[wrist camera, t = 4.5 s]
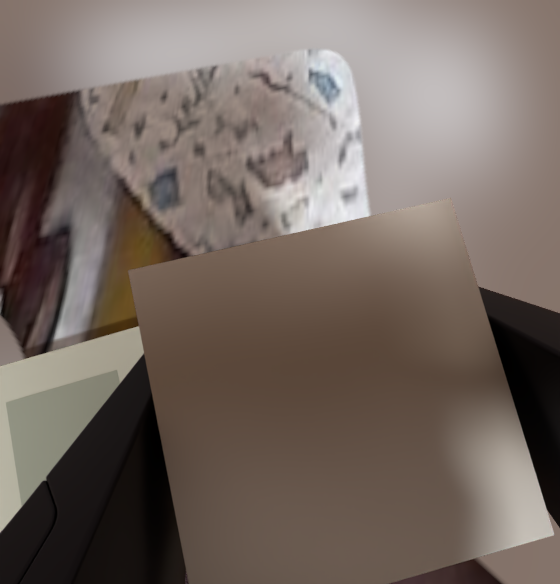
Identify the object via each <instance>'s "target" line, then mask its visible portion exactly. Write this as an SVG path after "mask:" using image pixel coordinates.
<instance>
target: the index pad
mask: <svg viewBox="0 0 560 584" xmlns="http://www.w3.org/2000/svg"><path fill="white" fill-rule="evenodd" d="M143 354H144V350H143V345H142V340H141V334H140V329H139V326H138V327H134V328H131V329H127V330H124V331H120V332H117V333H113V334H110V335H107V336H103V337H100V338H96V339H93V340H89V341H86V342H82V343H79V344H75V345H72V346H68V347H65V348H61V349H58V350H54V351H51V352H48V353H44V354H41V355H37V356H34V357H30V358H27V359H23V360H20V361H16V362H13V363H9V364H6V365H3V366H0V532H1V531H2V530H3V529H4V528H5V526H6V525H7V524H8V523H9V521H10V520H11V519H12V518H13V517H14V515H15V514H16V513H17V512H18V511H19V509H20V508H21V507H22V506H23V504H24V503H25V502H26V501H27V500H28V498H29V497H30V496H31V495H32V493H33V492H34V491H35V489H36V488H37V487H38V486H39V484H40V483H41V482H42V481H44V480H46V476H47V475H48V473H49V472H50V471H51V470H52V468H53V467H54V466H55V465H56V463H57V462H58V461H59V459H60V458H61V457H62V456H63V454H64V453H65V452H66V451H67V449H68V448H69V447H70V446H71V444H72V443H73V442H74V441H75V439H76V438H77V437H78V436H79V434H80V433H81V432H82V431H83V429H84V428H85V427H86V425H87V424H88V423H89V422H90V420H91V419H92V418H93V417H94V415H95V414H96V413H97V412H98V410H99V409H100V408H101V407H102V405H103V404H104V403H105V402H106V400H107V399H108V398H109V397H110V395H111V394H112V393H113V391H114V390H115V389H116V388H117V386H118V385H119V384H120V383H121V381H122V380H123V379H124V378H125V376H126V375H127V374H128V373H129V371H130V370H131V369H132V368H133V366H134V365H135V364H136V363H137V361H138V360H139V359H140V357H141V356H142V355H143Z"/></svg>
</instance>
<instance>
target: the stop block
mask: <svg viewBox="0 0 560 584" xmlns="http://www.w3.org/2000/svg"><path fill="white" fill-rule="evenodd" d="M128 273H129V278H130V283H131V288H132V293H133V298H134V304H135V309H136V314H137V319H138V324H139V329H140V334H141V340H142V345H143V350H144V355H145V360H146V365H147V371H148V376H149V381H150V386H151V391H152V396H153V402H154V407H155V412H156V417H157V422H158V427H159V432H160V438H161V443H162V448H163V453H164V458H165V463H166V469H167V474H168V479H169V484H170V489H171V494H172V499H173V505H174V510H175V515H176V520H177V525H178V530H179V536H180V541H181V546H182V551H183V556H184V561H185V566H186V572H187V577H188V582H189V584H389V583H392V582H396V581H399V580H402V579H406V578H409V577H413V576H416V575H420V574H423V573H426V572H430V571H433V570H437V569H440V568H443V567H447V566H450V565H454V564H457V563H461V562H464V561H467V560H471V559H474V558H478V557H481V556H485V555H488V554H491V553H495V552H498V551H502V550H505V549H508V548H512V547H515V546H518V545H522V544H526V543H529V542H533V541H536V540H539V539H543V538H546V537H549V536H553V535H554V532H553V529H552V525H551V522H550V519H549V515H548V512H547V509H546V506H545V502H544V499H543V496H542V493H541V489H540V486H539V483H538V480H537V476H536V473H535V470H534V467H533V463H532V460H531V457H530V454H529V450H528V447H527V444H526V441H525V437H524V434H523V431H522V428H521V424H520V421H519V418H518V415H517V411H516V408H515V405H514V402H513V398H512V395H511V392H510V389H509V385H508V382H507V379H506V376H505V372H504V369H503V366H502V363H501V359H500V356H499V353H498V350H497V346H496V343H495V340H494V337H493V333H492V330H491V327H490V324H489V320H488V317H487V314H486V311H485V307H484V304H483V301H482V298H481V294H480V291H479V288H478V285H477V281H476V278H475V275H474V272H473V269H472V265H471V262H470V259H469V255H468V252H467V249H466V246H465V242H464V239H463V236H462V233H461V230H460V226H459V223H458V220H457V216H456V213H455V210H454V207H453V203H452V200H451V198H450V199H445V200H440V201H436V202H431V203H427V204H423V205H418V206H414V207H409V208H405V209H400V210H396V211H392V212H387V213H383V214H378V215H373V216H369V217H364V218H360V219H356V220H351V221H347V222H342V223H338V224H333V225H329V226H324V227H320V228H315V229H311V230H306V231H302V232H298V233H293V234H289V235H284V236H280V237H275V238H271V239H266V240H262V241H257V242H253V243H248V244H244V245H239V246H235V247H231V248H226V249H222V250H217V251H213V252H208V253H204V254H199V255H195V256H190V257H186V258H181V259H177V260H173V261H168V262H164V263H159V264H155V265H150V266H146V267H141V268H137V269H132V270H128Z"/></svg>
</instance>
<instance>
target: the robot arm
mask: <svg viewBox="0 0 560 584" xmlns="http://www.w3.org/2000/svg"><path fill="white" fill-rule="evenodd" d="M478 288H479V291H480V294H481V298H482V301H483V304H484V307H485V311H486V314H487V317H488V320H489V324H490V327H491V330H492V333H493V337H494V340H495V343H496V346H497V350H498V353H499V356H500V359H501V363H502V366H503V369H504V372H505V376H506V379H507V382H508V385H509V389H510V392H511V395H512V398H513V402H514V405H515V408H516V411H517V415H518V418H519V421H520V424H521V428H522V431H523V434H524V437H525V441H526V444H527V447H528V450H529V454H530V457H531V460H532V463H533V467H534V470H535V473H536V476H537V480H538V483H539V486H540V489H541V493H542V496H543V499H544V502H545V506H546V509H547V510H548V512H549V513H550V515H551V516H552V517H553V519H554V520H555V522H556V523H557V525H558V526H559V527H560V313H557V312H554V311H551V310H548V309H545V308H542V307H539V306H536V305H533V304H530V303H527V302H524V301H521V300H518V299H515V298H511V297H509V296H505V295H502V294H499V293H496V292H493V291H490V290H487V289H484V288H481V287H478ZM185 571H186V566H185V561H184V556H183V551H182V546H181V541H180V536H179V530H178V525H177V520H176V515H175V510H174V505H173V499H172V494H171V489H170V484H169V479H168V474H167V469H166V463H165V458H164V453H163V448H162V443H161V438H160V432H159V427H158V422H157V417H156V412H155V407H154V402H153V396H152V391H151V386H150V381H149V376H148V371H147V365H146V360H145V355H144V354H143V355H142V356H141V357H140V359H139V360H138V361H137V363H136V364H135V365H134V366H133V368H132V369H131V370H130V371H129V373H128V374H127V375H126V376H125V378H124V379H123V380H122V381H121V383H120V384H119V385H118V386H117V388H116V389H115V390H114V391H113V393H112V394H111V395H110V397H109V398H108V399H107V400H106V402H105V403H104V404H103V405H102V407H101V408H100V409H99V410H98V412H97V413H96V414H95V415H94V417H93V418H92V419H91V420H90V422H89V423H88V424H87V425H86V427H85V428H84V429H83V431H82V432H81V433H80V434H79V436H78V437H77V438H76V439H75V441H74V442H73V443H72V444H71V446H70V447H69V448H68V449H67V451H66V452H65V453H64V454H63V456H62V457H61V458H60V459H59V461H58V462H57V463H56V465H55V466H54V467H53V468H52V470H51V471H50V472H49V473H48V475H47V476H46V480H44V481H42V482H41V483H40V484H39V486H38V487H37V488H36V489H35V491H34V492H33V493H32V495H31V496H30V497H29V498H28V500H27V501H26V502H25V503H24V504H23V506H22V507H21V508H20V509H19V511H18V512H17V513H16V514H15V515H14V517H13V518H12V519H11V520H10V521H9V523H8V524H7V525H6V526H5V528H4V529H3V530H2V531H1V532H0V584H185Z"/></svg>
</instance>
